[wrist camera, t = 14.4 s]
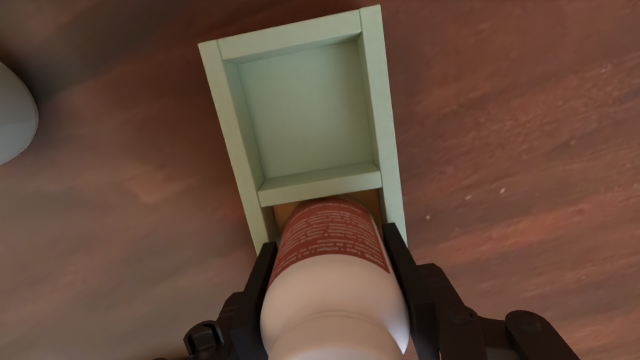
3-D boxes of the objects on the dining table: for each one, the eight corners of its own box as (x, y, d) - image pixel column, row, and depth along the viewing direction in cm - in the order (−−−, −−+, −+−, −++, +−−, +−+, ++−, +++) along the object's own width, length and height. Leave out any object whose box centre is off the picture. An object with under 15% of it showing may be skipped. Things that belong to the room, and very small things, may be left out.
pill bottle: (265, 227, 20) (192, 390, 9) (338, 171, 18) (355, 284, 8) (323, 289, 21) (320, 496, 10) (395, 241, 20) (477, 420, 9)
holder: (282, 291, 22) (275, 322, 19) (218, 51, 17) (196, 43, 14) (402, 274, 21) (414, 303, 19) (370, 19, 17) (380, 4, 14)
